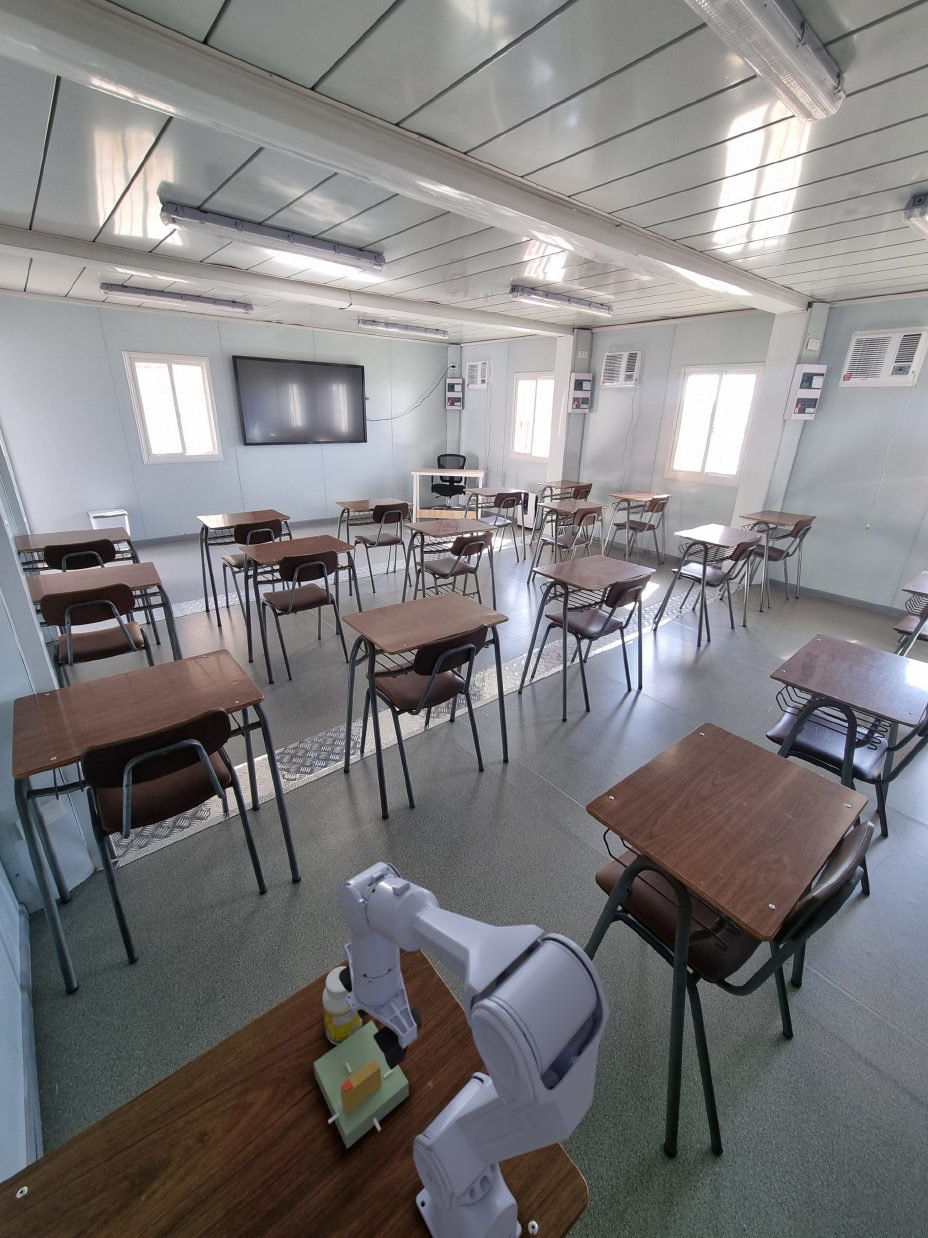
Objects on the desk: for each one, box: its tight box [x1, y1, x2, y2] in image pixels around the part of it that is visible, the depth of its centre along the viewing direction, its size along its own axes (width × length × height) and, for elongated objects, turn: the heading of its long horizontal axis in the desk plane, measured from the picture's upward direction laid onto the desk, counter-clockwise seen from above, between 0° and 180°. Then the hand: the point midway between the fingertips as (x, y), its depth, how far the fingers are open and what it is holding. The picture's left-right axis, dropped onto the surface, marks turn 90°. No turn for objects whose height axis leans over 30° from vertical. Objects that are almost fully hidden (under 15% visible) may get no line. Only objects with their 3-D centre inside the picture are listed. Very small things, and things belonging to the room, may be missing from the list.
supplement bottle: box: [321, 966, 363, 1046], centre depth 74 cm, size 5×5×10 cm
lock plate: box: [312, 1019, 410, 1149], centre depth 67 cm, size 12×10×3 cm
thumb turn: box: [340, 1059, 381, 1114], centre depth 64 cm, size 5×1×4 cm, turn 128°
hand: (380, 1036), depth 65 cm, fingers open, 7 cm apart
